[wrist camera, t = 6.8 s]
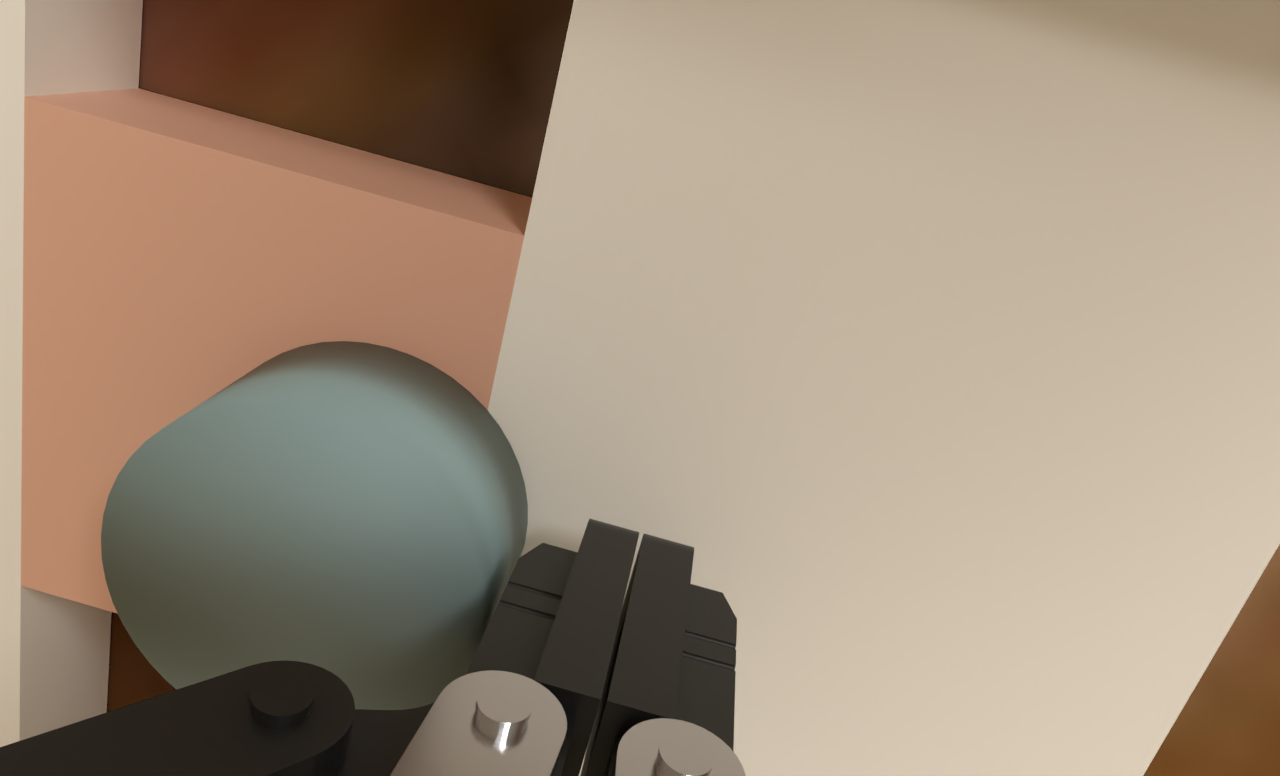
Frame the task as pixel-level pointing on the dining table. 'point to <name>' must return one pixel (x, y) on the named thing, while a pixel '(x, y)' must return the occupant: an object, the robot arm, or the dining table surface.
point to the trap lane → (728, 342)
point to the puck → (320, 526)
